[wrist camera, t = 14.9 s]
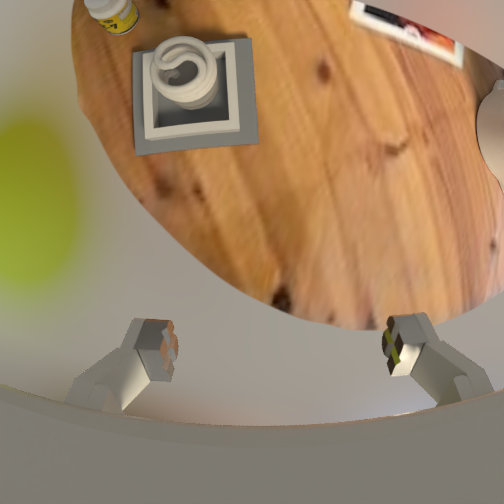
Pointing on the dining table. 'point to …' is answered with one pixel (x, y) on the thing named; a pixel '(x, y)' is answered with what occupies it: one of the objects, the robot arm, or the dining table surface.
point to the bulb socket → (203, 119)
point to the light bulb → (185, 72)
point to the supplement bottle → (114, 15)
